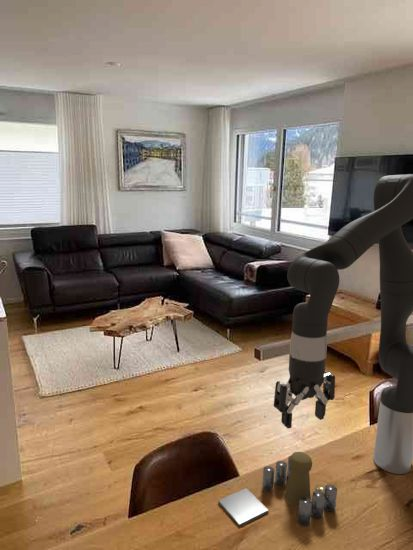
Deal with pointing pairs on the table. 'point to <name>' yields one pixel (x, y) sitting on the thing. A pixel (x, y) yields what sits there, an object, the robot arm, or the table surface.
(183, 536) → the table surface
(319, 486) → the glossy gold bead
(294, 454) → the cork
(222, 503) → the coaster
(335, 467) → the table surface
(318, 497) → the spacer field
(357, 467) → the table surface
